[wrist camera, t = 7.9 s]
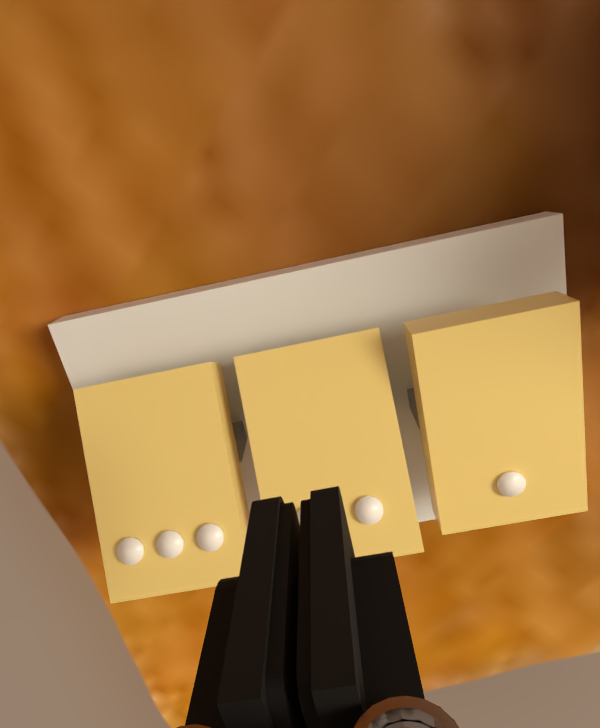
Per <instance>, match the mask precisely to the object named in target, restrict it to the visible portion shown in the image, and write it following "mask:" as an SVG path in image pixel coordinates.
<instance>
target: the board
mask: <svg viewBox="0 0 600 728" xmlns="http://www.w3.org/2000/svg"><path fill="white" fill-rule="evenodd" d="M553 291H558V292H560V293H563V294H565V295H567V290H566V269H565V248H564V227H563V213H555V212H547V211H546V212H541V213H536V214H532V215H527V216H523V217H518V218H513V219H509V220H504V221H500V222H495V223H490V224H486V225H481V226H477V227H472V228H467V229H463V230H458V231H454V232H449V233H444V234H440V235H435V236H430V237H426V238H421V239H417V240H412V241H407V242H403V243H398V244H394V245H389V246H384V247H380V248H375V249H371V250H366V251H361V252H357V253H352V254H348V255H343V256H338V257H334V258H329V259H325V260H320V261H315V262H311V263H306V264H302V265H297V266H292V267H288V268H283V269H278V270H274V271H269V272H265V273H260V274H255V275H251V276H246V277H242V278H237V279H232V280H228V281H223V282H219V283H214V284H209V285H205V286H200V287H196V288H191V289H186V290H182V291H177V292H173V293H168V294H163V295H159V296H154V297H150V298H145V299H140V300H136V301H131V302H127V303H122V304H117V305H113V306H108V307H103V308H99V309H94V310H90V311H85V312H80V313H76V314H71V315H67V316H63V317H61V318H59V319H57V320H55V321H54V322H52V323H50V324H48V328H49V330H50V333H51V335H52V338H53V340H54V343H55V345H56V348H57V351H58V353H59V356H60V358H61V361H62V363H63V366H64V368H65V371H66V373H67V376H68V379H69V381H70V384H71V386H72V389H78V388H83V387H88V386H93V385H98V384H103V383H108V382H113V381H117V380H122V379H127V378H132V377H137V376H142V375H147V374H152V373H157V372H162V371H167V370H172V369H176V368H181V367H186V366H191V365H196V364H201V363H206V362H217V363H221V366H222V372H223V377H224V382H225V388H226V393H227V398H228V403H229V409H230V414H231V419H232V425H233V430H234V435H235V440H236V446H237V451H238V456H239V462H240V467H241V472H242V477H243V483H244V488H245V493H246V499H247V504H248V509H249V515H250V509H251V504H252V502H253V501H256V500H261V498H260V493H259V488H258V483H257V478H256V472H255V467H254V462H253V457H252V452H251V446H250V441H249V436H248V431H247V426H246V420H245V415H244V410H243V405H242V400H241V394H240V389H239V384H238V379H237V374H236V368H235V363H234V358H233V357H236V356H241V355H246V354H251V353H256V352H261V351H266V350H270V349H275V348H280V347H285V346H290V345H295V344H300V343H305V342H310V341H315V340H320V339H324V338H329V337H334V336H339V335H344V334H349V333H354V332H359V331H364V330H369V329H374V328H379V331H380V336H381V341H382V346H383V351H384V356H385V360H386V365H387V370H388V375H389V380H390V385H391V390H392V395H393V400H394V405H395V410H396V415H397V420H398V425H399V429H400V434H401V439H402V444H403V449H404V454H405V459H406V464H407V469H408V474H409V479H410V484H411V489H412V494H413V499H414V503H415V508H416V513H417V518H418V522H422V521H428V520H434V519H436V517H435V515H434V512H433V509H432V503H431V497H430V490H429V484H428V477H427V471H426V464H425V458H424V452H423V445H422V439H421V432H420V426H419V420H418V413H417V407H416V400H415V394H414V388H413V381H412V375H411V368H410V362H409V356H408V349H407V343H406V336H405V330H404V324H403V322H406V321H411V320H416V319H421V318H426V317H431V316H436V315H440V314H445V313H450V312H455V311H460V310H465V309H470V308H475V307H480V306H485V305H490V304H494V303H499V302H504V301H509V300H514V299H519V298H524V297H529V296H534V295H539V294H544V293H549V292H553Z"/></svg>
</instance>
